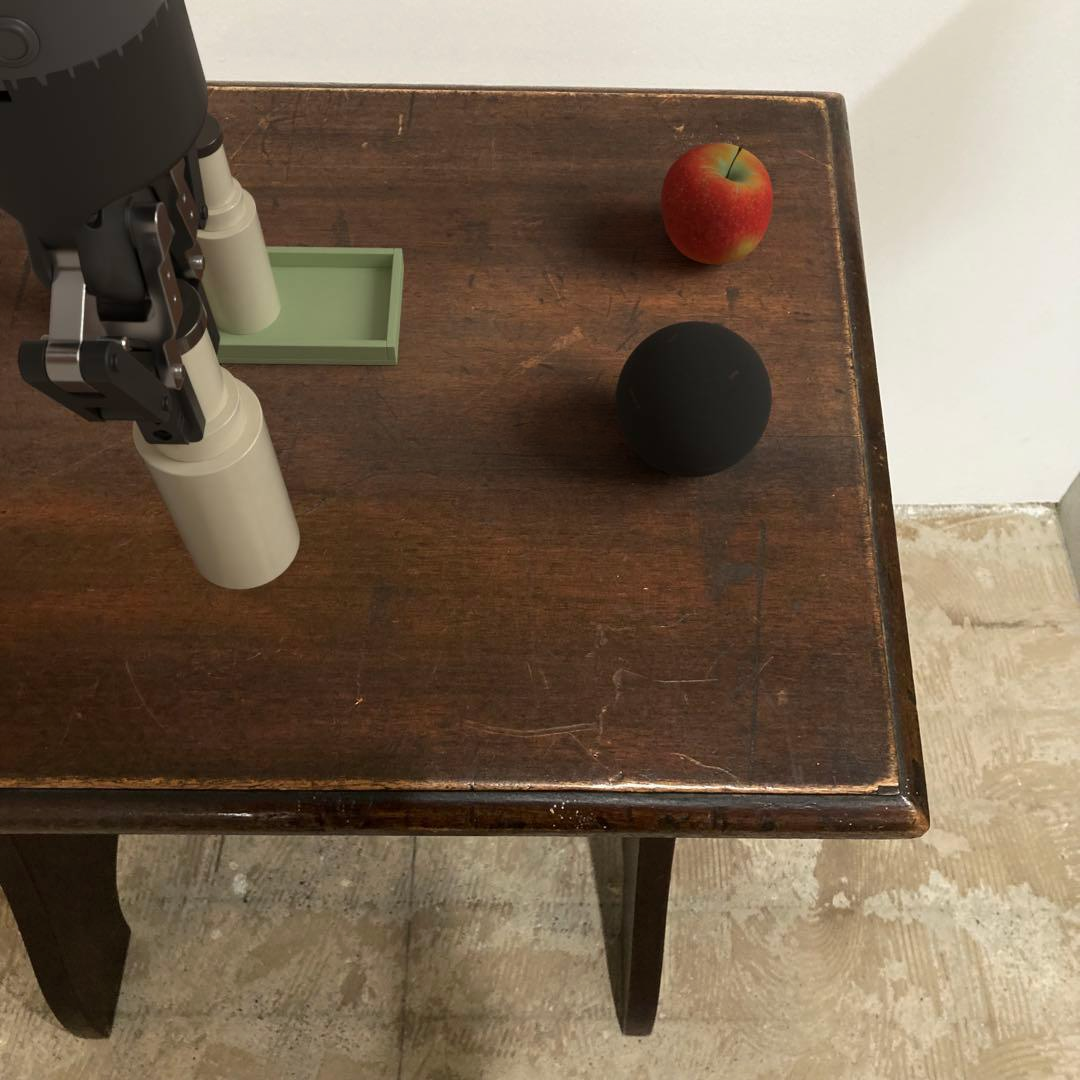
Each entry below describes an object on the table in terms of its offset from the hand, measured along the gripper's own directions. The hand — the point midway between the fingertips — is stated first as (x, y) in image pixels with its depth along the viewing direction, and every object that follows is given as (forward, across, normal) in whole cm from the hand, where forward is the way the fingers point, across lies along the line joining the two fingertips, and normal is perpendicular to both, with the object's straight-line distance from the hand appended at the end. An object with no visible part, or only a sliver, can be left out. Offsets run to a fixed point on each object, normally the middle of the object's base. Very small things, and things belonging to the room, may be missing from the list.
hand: (184, 391), depth 43 cm
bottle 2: (+11, 0, 0) cm, 11 cm away
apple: (+30, -36, +27) cm, 54 cm away
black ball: (+30, -18, +24) cm, 43 cm away
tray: (+30, -29, -7) cm, 42 cm away
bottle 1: (+29, -29, -7) cm, 42 cm away
